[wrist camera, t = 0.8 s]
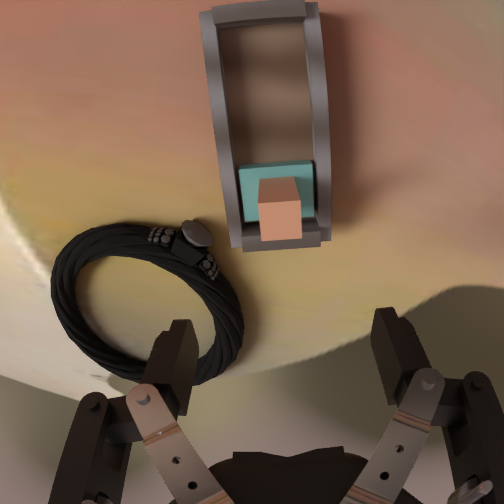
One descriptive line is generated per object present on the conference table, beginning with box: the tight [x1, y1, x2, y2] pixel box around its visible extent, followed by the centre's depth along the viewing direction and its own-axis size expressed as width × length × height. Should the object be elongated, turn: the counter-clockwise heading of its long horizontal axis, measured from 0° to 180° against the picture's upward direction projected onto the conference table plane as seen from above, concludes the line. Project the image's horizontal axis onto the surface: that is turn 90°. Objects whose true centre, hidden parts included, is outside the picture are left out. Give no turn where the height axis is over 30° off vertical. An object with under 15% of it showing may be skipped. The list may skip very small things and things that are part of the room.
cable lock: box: [51, 220, 244, 386], centre depth 38 cm, size 28×4×30 cm
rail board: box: [199, 0, 332, 252], centre depth 26 cm, size 22×10×4 cm, turn 6°
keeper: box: [239, 160, 314, 241], centre depth 26 cm, size 5×6×8 cm
